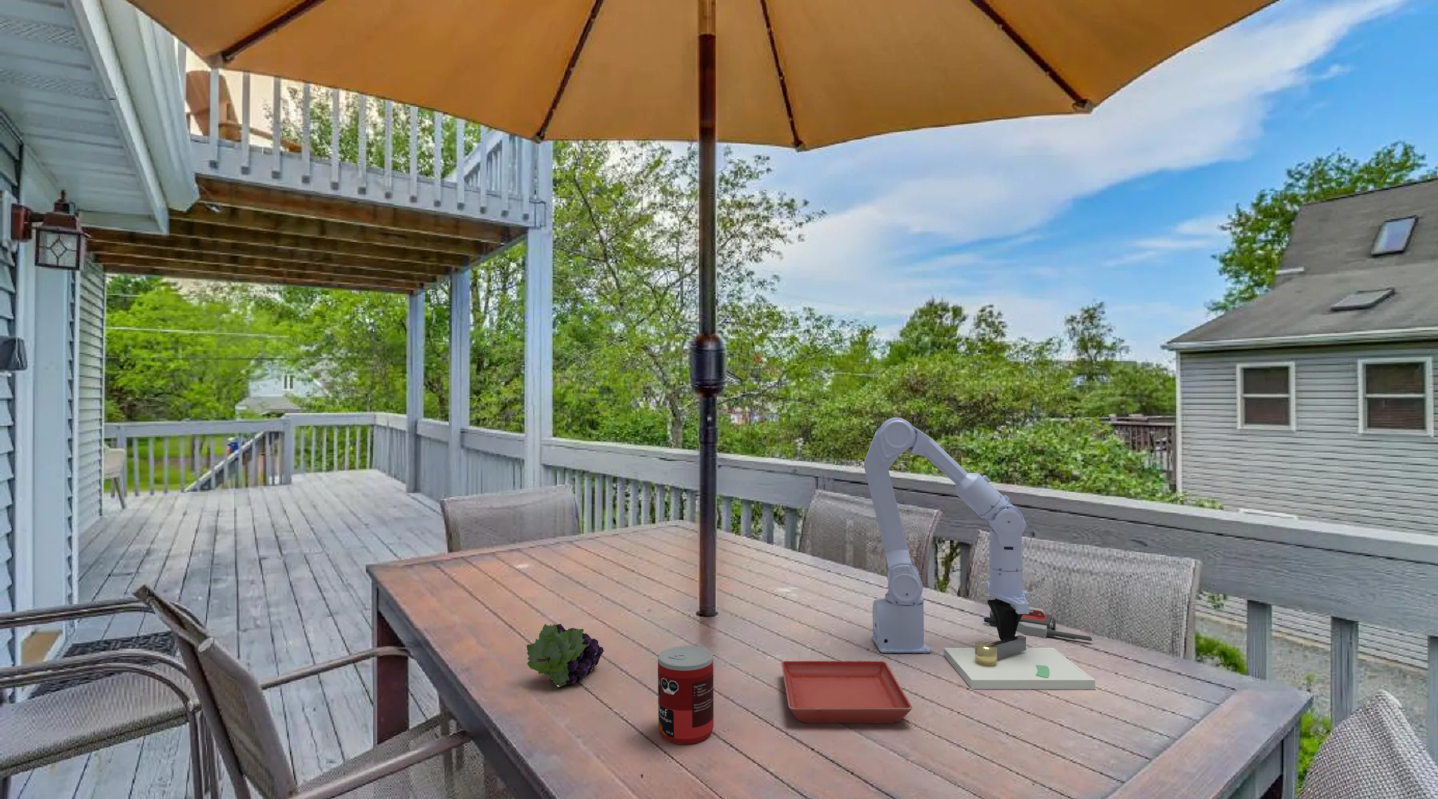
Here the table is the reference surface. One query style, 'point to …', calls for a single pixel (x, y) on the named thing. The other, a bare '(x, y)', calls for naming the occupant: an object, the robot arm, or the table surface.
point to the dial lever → (998, 649)
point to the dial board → (1020, 670)
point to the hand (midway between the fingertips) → (1006, 640)
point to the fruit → (563, 654)
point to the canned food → (685, 694)
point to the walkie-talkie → (1038, 625)
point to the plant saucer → (844, 692)
